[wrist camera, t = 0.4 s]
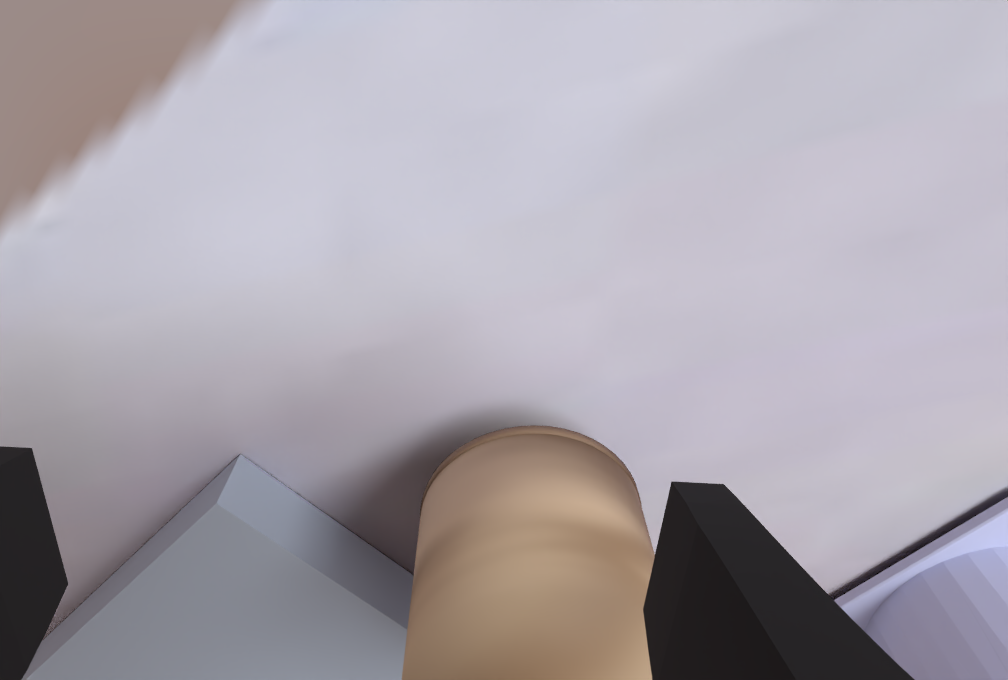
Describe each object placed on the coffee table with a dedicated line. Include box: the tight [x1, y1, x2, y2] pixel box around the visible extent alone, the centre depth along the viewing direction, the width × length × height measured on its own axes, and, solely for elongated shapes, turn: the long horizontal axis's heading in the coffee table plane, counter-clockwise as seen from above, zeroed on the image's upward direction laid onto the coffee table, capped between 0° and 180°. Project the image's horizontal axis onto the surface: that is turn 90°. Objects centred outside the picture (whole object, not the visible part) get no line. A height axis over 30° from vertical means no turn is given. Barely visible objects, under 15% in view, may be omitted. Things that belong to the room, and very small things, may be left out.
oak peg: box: [402, 426, 655, 680], centre depth 18 cm, size 6×6×7 cm
